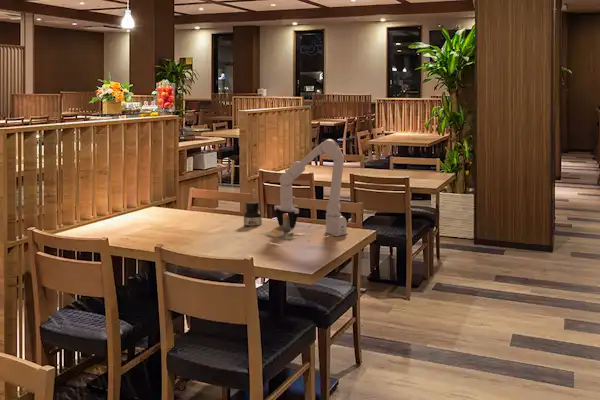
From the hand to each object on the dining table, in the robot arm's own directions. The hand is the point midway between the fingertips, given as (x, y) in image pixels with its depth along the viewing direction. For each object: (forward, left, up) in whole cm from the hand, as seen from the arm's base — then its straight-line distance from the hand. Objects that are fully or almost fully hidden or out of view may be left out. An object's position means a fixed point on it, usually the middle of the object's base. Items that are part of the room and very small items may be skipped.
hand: (286, 226), depth 303 cm
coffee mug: (+10, -13, -3) cm, 17 cm away
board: (-5, +5, -3) cm, 8 cm away
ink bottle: (+23, +1, -3) cm, 23 cm away
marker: (0, 0, -2) cm, 2 cm away
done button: (-3, +10, -1) cm, 11 cm away
